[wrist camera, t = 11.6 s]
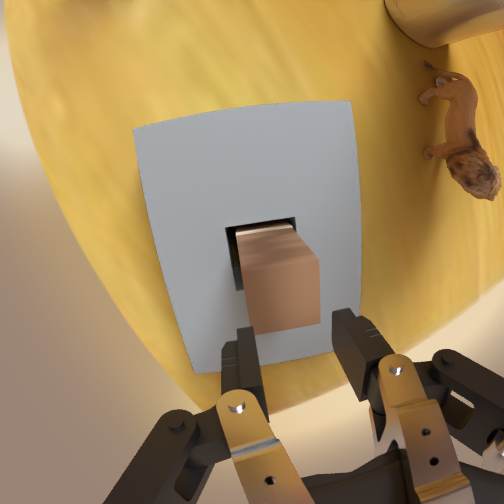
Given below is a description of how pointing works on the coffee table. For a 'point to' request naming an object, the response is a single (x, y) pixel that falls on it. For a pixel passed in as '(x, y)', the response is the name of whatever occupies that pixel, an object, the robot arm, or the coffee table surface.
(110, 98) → the coffee table surface
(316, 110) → the grey rectangular block
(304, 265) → the walnut peg
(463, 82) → the lion figurine
